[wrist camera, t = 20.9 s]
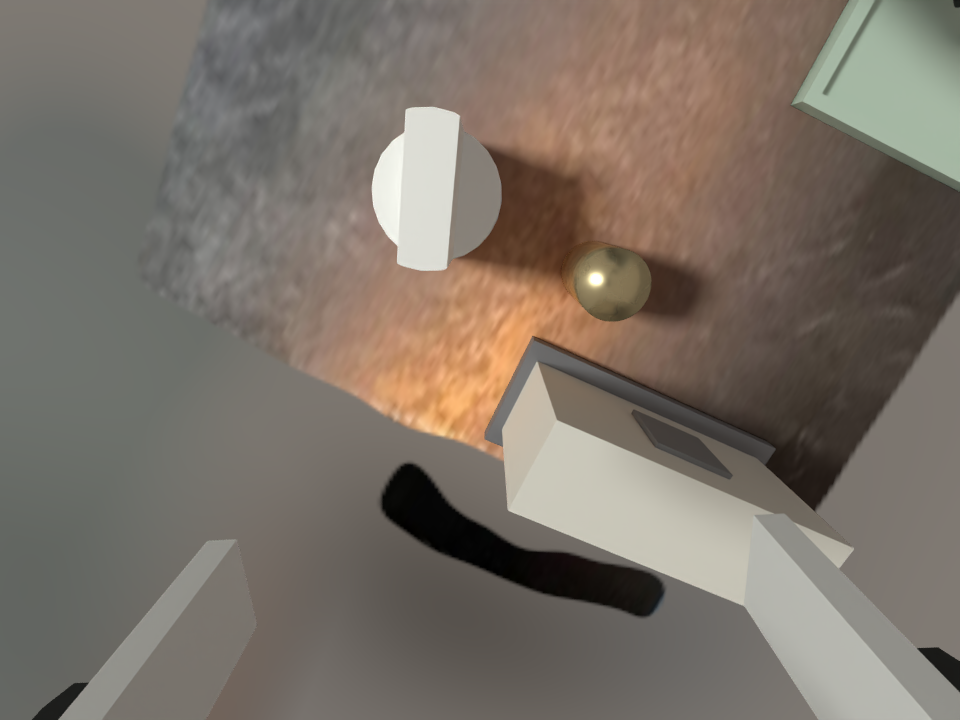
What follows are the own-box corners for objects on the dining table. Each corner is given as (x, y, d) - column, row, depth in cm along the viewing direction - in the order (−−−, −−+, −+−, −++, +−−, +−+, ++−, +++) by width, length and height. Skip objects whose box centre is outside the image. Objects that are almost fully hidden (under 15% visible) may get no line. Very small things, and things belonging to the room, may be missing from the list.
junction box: (484, 432, 46) (484, 523, 33) (532, 336, 44) (553, 392, 30) (708, 526, 49) (792, 646, 36) (767, 441, 46) (881, 536, 33)
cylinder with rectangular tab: (391, 129, 39) (351, 97, 28) (506, 142, 39) (514, 116, 28) (385, 247, 42) (346, 262, 30) (492, 259, 42) (495, 278, 30)
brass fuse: (560, 242, 42) (577, 250, 34) (621, 238, 41) (652, 246, 34) (561, 302, 43) (578, 323, 35) (620, 299, 43) (650, 319, 35)
